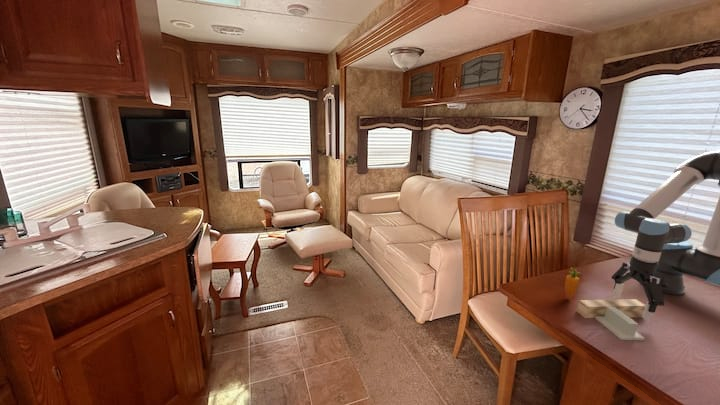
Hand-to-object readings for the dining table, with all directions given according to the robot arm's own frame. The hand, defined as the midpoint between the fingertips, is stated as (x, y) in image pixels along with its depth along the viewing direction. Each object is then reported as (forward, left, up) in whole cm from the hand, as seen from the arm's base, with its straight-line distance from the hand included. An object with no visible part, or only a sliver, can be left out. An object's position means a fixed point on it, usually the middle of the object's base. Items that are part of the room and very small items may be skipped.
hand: (630, 307), depth 116 cm
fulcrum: (+11, +8, -4) cm, 14 cm away
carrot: (+17, -11, -4) cm, 20 cm away
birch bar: (+7, -1, -4) cm, 8 cm away
